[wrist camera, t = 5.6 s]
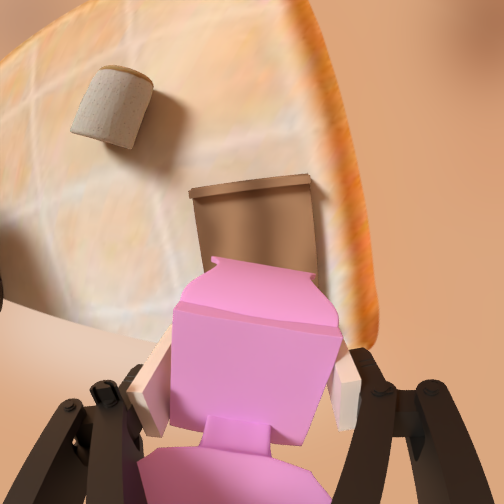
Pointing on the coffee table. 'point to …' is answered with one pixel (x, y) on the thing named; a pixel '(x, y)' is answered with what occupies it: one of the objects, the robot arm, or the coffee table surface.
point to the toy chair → (244, 386)
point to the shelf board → (258, 222)
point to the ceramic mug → (114, 106)
